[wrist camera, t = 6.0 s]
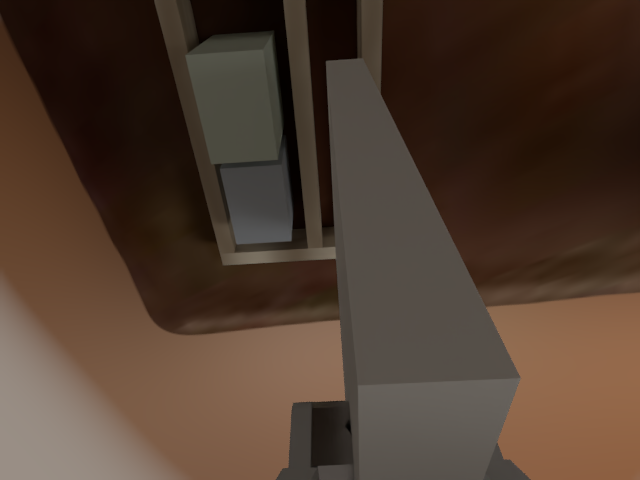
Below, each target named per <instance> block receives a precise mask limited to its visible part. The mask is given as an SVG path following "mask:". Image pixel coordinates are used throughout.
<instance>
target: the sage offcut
mask: <svg viewBox="0 0 640 480" xmlns="http://www.w3.org/2000/svg"><path fill="white" fill-rule="evenodd" d="M185 57H186V61H187V65H188V69H189V74H190V78H191V82H192V86H193V90H194V95H195V99H196V103H197V107H198V111H199V115H200V120H201V124H202V128H203V132H204V136H205V141H206V145H207V149H208V153H209V157H210V162H211V164H223V163H238V162H253V161H269V160H278V156H279V150H280V145H281V139H282V133H283V128H284V122H285V121H284V113H283V104H282V95H281V87H280V78H279V69H278V61H277V52H276V44H275V35H274V31H261V32H248V33H234V34H221V35H213V36H211V37H210V38H208V39H207V40H206V41H204V42H203V43H201V44H200V45H199V46H197V47H196V48H194V49H193V50H192V51H190V52H189V53H187V54H186V55H185Z"/></svg>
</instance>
